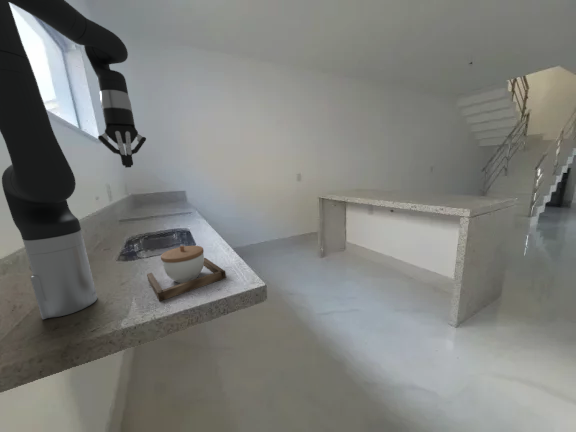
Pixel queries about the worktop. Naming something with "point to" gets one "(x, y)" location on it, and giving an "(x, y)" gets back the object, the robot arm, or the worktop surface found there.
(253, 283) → the worktop surface
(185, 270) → the lidded jar
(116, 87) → the robot arm
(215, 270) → the walnut bay
